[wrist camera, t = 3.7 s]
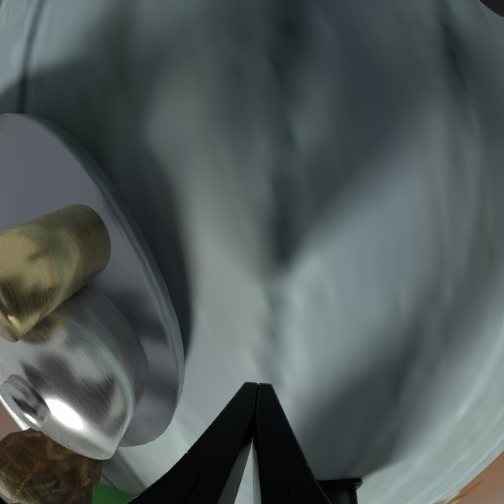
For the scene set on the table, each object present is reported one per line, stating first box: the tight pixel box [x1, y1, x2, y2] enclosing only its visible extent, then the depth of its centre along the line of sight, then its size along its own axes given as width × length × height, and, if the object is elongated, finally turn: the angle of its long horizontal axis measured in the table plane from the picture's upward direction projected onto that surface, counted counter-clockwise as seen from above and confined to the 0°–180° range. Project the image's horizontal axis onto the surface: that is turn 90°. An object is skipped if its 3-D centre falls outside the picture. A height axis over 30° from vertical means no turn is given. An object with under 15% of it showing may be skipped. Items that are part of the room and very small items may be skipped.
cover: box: [0, 282, 150, 460], centre depth 7 cm, size 7×7×4 cm
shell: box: [0, 428, 102, 504], centre depth 14 cm, size 11×11×12 cm
